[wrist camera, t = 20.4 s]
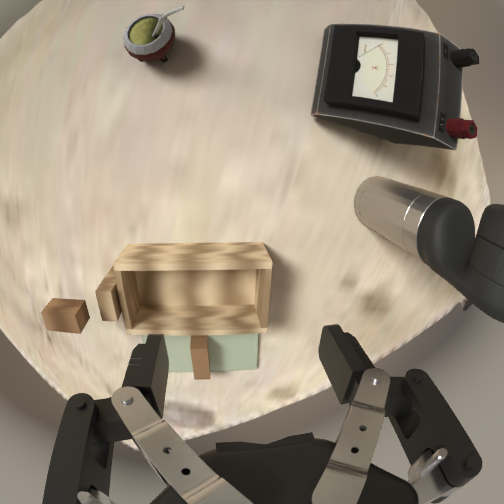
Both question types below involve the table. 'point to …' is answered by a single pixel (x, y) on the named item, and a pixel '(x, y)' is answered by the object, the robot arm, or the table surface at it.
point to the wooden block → (66, 315)
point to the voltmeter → (393, 84)
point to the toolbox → (189, 289)
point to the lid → (211, 353)
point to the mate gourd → (150, 36)
